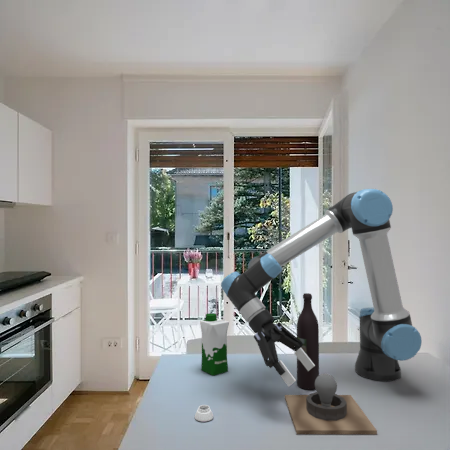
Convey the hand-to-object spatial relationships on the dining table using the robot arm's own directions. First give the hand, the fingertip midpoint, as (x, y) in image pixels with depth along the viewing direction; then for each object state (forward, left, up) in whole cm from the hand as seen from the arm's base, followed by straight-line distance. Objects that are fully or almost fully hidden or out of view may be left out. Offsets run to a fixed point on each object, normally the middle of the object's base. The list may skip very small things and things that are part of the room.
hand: (302, 375), depth 107 cm
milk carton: (+26, -28, -9) cm, 40 cm away
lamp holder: (-6, +4, -9) cm, 11 cm away
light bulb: (-6, +3, -8) cm, 11 cm away
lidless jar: (+28, +5, -10) cm, 30 cm away
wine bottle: (-5, -15, -9) cm, 19 cm away
